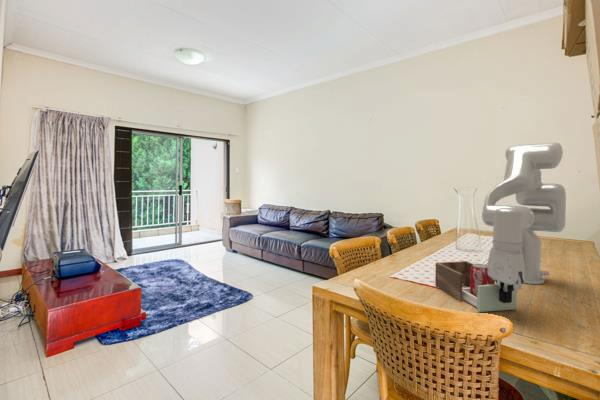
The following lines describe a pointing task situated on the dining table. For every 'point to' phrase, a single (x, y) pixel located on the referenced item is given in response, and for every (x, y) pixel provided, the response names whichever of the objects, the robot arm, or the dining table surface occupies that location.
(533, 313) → the dining table surface
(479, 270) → the beverage can
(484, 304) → the pale green drawer
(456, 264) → the box
